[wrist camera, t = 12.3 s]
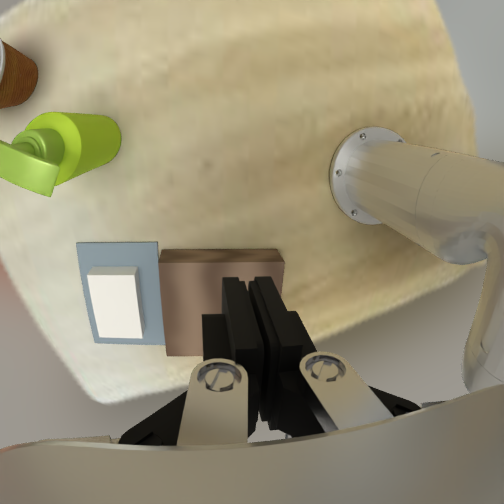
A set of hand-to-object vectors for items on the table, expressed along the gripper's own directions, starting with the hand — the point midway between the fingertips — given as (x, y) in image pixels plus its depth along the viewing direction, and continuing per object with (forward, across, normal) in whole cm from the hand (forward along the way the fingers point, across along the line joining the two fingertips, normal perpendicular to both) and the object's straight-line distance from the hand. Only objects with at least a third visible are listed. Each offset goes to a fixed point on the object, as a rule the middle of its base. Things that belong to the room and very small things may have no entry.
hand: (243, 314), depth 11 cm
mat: (+27, +12, +14) cm, 33 cm away
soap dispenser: (+27, +13, -5) cm, 31 cm away
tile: (+24, +12, +15) cm, 31 cm away
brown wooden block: (+27, -1, +14) cm, 31 cm away
